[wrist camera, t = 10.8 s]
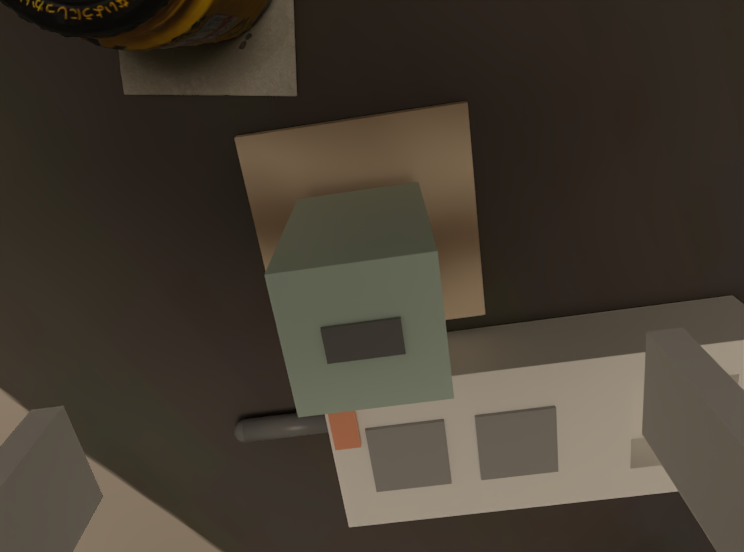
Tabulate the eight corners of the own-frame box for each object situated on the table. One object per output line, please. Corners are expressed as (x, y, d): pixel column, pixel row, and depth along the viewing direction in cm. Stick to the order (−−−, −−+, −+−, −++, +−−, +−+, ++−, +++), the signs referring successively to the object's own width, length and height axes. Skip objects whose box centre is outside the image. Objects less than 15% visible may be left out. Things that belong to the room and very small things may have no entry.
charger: (302, 186, 26) (263, 276, 17) (415, 170, 26) (438, 253, 17) (323, 289, 28) (297, 420, 19) (428, 275, 28) (454, 401, 19)
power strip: (253, 482, 34) (237, 544, 30) (218, 361, 31) (195, 411, 27) (719, 429, 32) (768, 486, 28) (732, 295, 29) (788, 338, 25)
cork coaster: (236, 135, 26) (234, 138, 26) (465, 100, 25) (467, 102, 25) (283, 335, 30) (282, 341, 29) (483, 309, 29) (485, 314, 29)
